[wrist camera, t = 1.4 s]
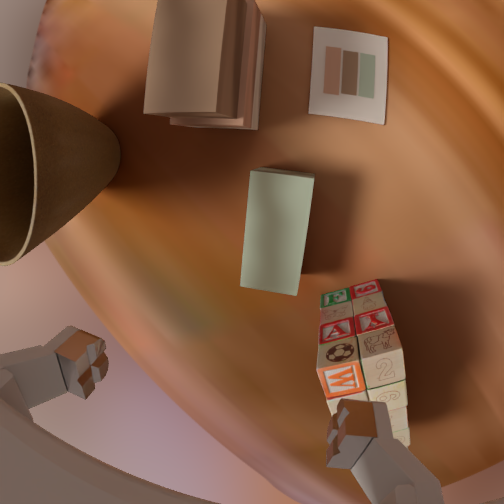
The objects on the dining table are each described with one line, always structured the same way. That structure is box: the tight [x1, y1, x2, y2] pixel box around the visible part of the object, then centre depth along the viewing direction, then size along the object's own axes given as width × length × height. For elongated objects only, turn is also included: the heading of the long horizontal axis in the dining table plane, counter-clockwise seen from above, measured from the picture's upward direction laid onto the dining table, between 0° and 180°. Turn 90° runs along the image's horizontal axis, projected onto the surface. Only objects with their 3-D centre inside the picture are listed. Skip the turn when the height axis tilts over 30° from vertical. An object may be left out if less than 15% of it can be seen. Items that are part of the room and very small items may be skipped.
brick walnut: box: [143, 0, 247, 119], centre depth 18 cm, size 5×10×5 cm, turn 176°
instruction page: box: [308, 26, 388, 125], centre depth 24 cm, size 7×9×1 cm
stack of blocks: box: [317, 279, 410, 449], centre depth 27 cm, size 21×6×12 cm, turn 21°
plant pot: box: [0, 83, 121, 266], centre depth 24 cm, size 15×15×16 cm
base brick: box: [170, 0, 266, 130], centre depth 23 cm, size 6×11×6 cm, turn 176°
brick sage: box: [240, 167, 315, 296], centre depth 28 cm, size 5×10×5 cm, turn 175°
